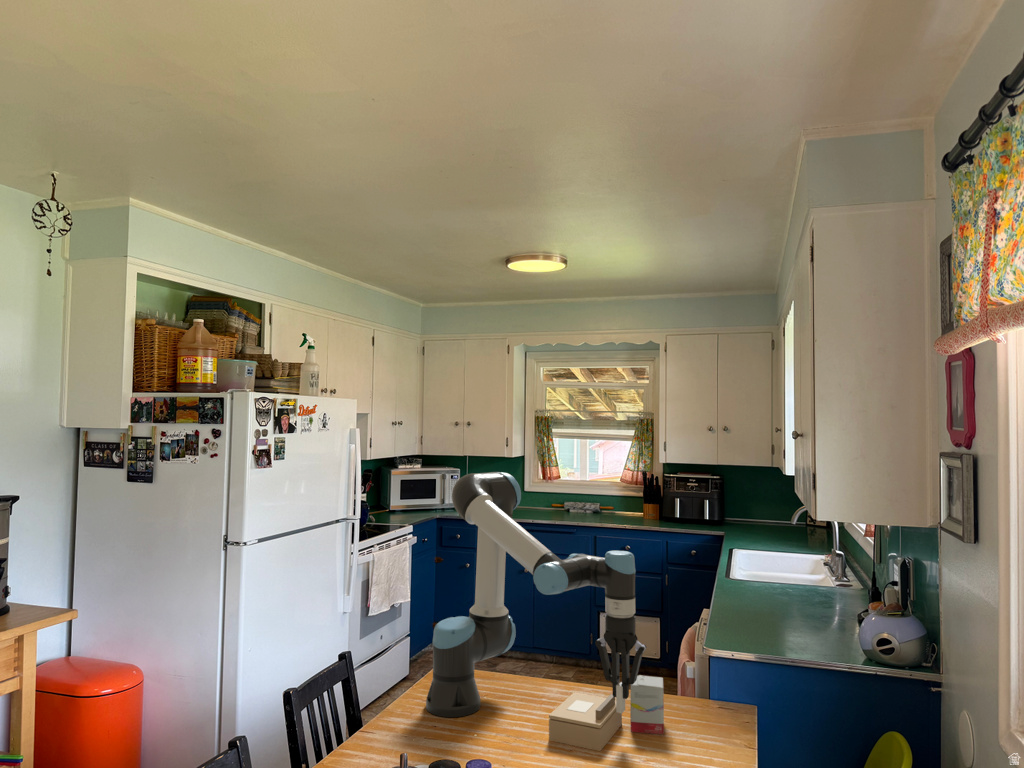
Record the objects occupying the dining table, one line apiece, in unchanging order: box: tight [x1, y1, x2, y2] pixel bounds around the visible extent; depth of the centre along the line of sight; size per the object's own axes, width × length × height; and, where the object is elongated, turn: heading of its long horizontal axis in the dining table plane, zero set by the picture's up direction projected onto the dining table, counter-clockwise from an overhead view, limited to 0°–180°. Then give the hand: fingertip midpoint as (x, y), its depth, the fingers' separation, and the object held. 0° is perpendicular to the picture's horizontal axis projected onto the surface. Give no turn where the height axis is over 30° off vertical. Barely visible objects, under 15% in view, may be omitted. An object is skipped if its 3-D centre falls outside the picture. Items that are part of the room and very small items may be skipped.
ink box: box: [629, 674, 665, 735], centre depth 182 cm, size 9×9×12 cm
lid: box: [548, 691, 616, 728], centre depth 178 cm, size 13×17×3 cm
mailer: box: [548, 711, 623, 752], centre depth 178 cm, size 13×17×5 cm
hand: (620, 710), depth 173 cm, fingers closed
